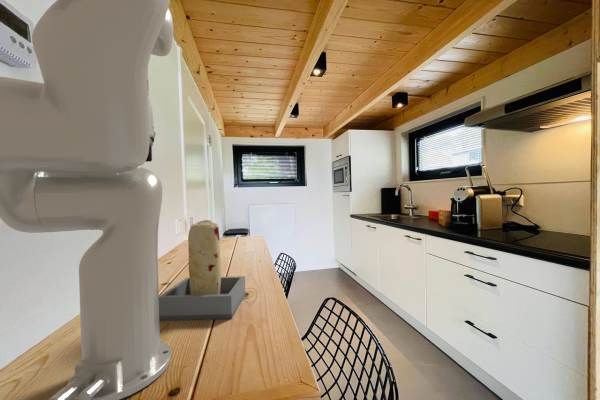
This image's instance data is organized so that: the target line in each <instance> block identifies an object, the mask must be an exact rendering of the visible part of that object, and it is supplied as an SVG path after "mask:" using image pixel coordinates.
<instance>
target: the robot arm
mask: <svg viewBox="0 0 600 400" xmlns="http://www.w3.org/2000/svg"><path fill="white" fill-rule="evenodd" d="M170 2H171V0H56V1H55V2H54V3H52V4H51V5H50V6H49V7H48V9H46V11H45V12H44V13H43V15H42V16H41V17H40V18H39V20H38V21H37V22H36V25H35V26H34V28H33V31H32V35H31V40H32V41H31V42H32V49H33V51H34V53H35V57H36V60H37V63H38V67H39V70H40V74H41V77H42V80H43V82H36V81H32V80H25V79H19V78H15V77H5V76H0V220H1V221H2V222H3V223H4V224H5V225H6V226H8V227H9V228H11V229H13V230H15V231H18V232H22V233H28V234H29V233H33V234H34V233H35V234H36V233H37V234H39V233H41V234H42V233H57V232H74V231H88V230H90V231H102V234H101V235H100V236H99V238H97V239H96V240H95V242H94V243H92V244H91V245H90V246H89V247H88V249H87V250H86V251H85V252H84V254H83V255H82V257H81V259H80V261H79V264H78V279H79V280H78V282H79V284H78V285H79V289H78V290H79V315H80V317H79V318H80V348H81V349H80V350H81V353H80V354H81V361H79V362H77V363H76V364H75V365H74V373H73V375H72V376H71V377H70V379H69V380H68V382H67V385H65V386H64V387H62V388H61V389H60V390H58V391H57V392H56V393H55V394H54V395H52V396H51V397H50V398H48V399H47V400H121V399H122V400H123V399H124V398H126V397H129V396H131V395H134V394H135V393H137V392H139V391H141V390H142V389H144V388H145V387H147V386H149V385H150V384H151V383H153V382H155V381H156V380H157V379H158V378H159V377H160V376H161V375H162V374H163V373H164V372H165V370H167V368H168V366H169V365H170V363H171V360H172V349H171V347H170V345H169V344H168V343H166V342H164V341H161V338H160V337H161V336H160V335H161V333H160V331H161V330H160V327H161V326H160V320H159V296H160V295H159V290H160V289H159V258H158V257H159V255H158V253H159V251H158V250H159V249H158V247H159V243H158V242H159V240H158V239H159V225H160V216H161V208H162V201H163V185H162V182H161V179H160V178H159V176H158V175H157V174H156V173H155V172H154V171H152V170H150V169H147V168H145V167H143V165H144V164H145V163H147V162H150V163H151V162H153V148H152V147H153V146H154V142H155V137H156V131H155V126H154V115H153V107H152V102H151V99H150V97H149V95H150V94H149V93H150V92H149V91H150V90H149V89H150V88H149V62H150V59H151V55H153V56H157V57H166V56H168V55H169V54H170V52H171V50H172V47H173V40H174V39H173V38H174V21H173V16H172V13H171V11H170V8H169V6H170V4H171V3H170Z"/></svg>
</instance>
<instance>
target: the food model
mask: <svg viewBox="0 0 600 400" xmlns="http://www.w3.org/2000/svg"><path fill="white" fill-rule="evenodd" d="M187 236H188V237H187V242H188V243H187V244H188V273H189V274H188V278H189V280H190V294H191V295H216V294H220V285H221V277H222V273H221V272H222V267H221V243H220V241H221V240H220V227H219V225H218V223H216V222H213V221H212V220H208V219H204V220H201V221H198V222H194V224H192V225H191V226H190V229H189V230H188V235H187Z"/></svg>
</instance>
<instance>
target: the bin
mask: <svg viewBox="0 0 600 400" xmlns="http://www.w3.org/2000/svg"><path fill="white" fill-rule="evenodd" d="M245 296H246V276H244V275H243V276H241V275H240V276H239V275H237V276H221V285H220V294H216V295H191V294H190V280H189V277H185V278H184V279H182V280H180V282H178V283H176V284H175V285H174V286H173V287H171V288H169V289H168V290H166V291H165V292H164V293H162V294H161V295H159V321H186V320H189V321H192V320H194V321H195V320H199V321H200V320H233V317H234V316H235V314H236V312H237V310H238V309H239V307H240V306H241V303H242V302H243V300H244V298H245Z"/></svg>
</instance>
